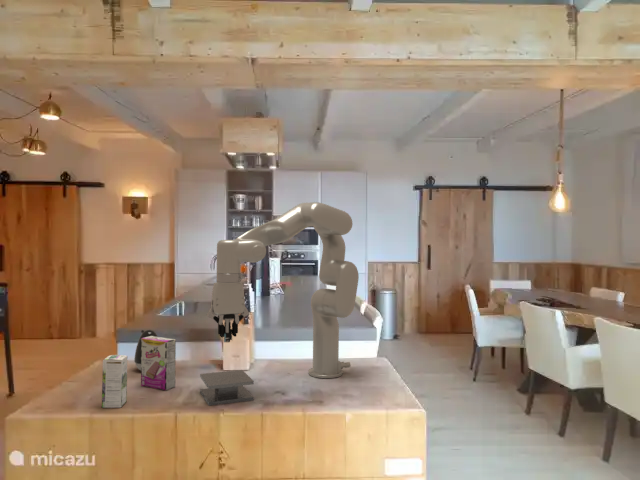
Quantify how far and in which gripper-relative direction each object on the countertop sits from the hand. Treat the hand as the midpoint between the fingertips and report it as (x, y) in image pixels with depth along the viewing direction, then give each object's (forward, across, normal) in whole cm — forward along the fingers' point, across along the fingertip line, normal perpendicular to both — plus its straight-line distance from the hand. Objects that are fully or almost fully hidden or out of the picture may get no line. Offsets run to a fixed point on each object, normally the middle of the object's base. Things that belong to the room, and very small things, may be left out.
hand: (227, 335), depth 166 cm
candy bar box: (+20, +19, -18) cm, 33 cm away
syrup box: (+20, +33, -4) cm, 39 cm away
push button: (+2, 0, 0) cm, 2 cm away
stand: (+19, 0, 0) cm, 19 cm away
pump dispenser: (+20, +20, -41) cm, 50 cm away
